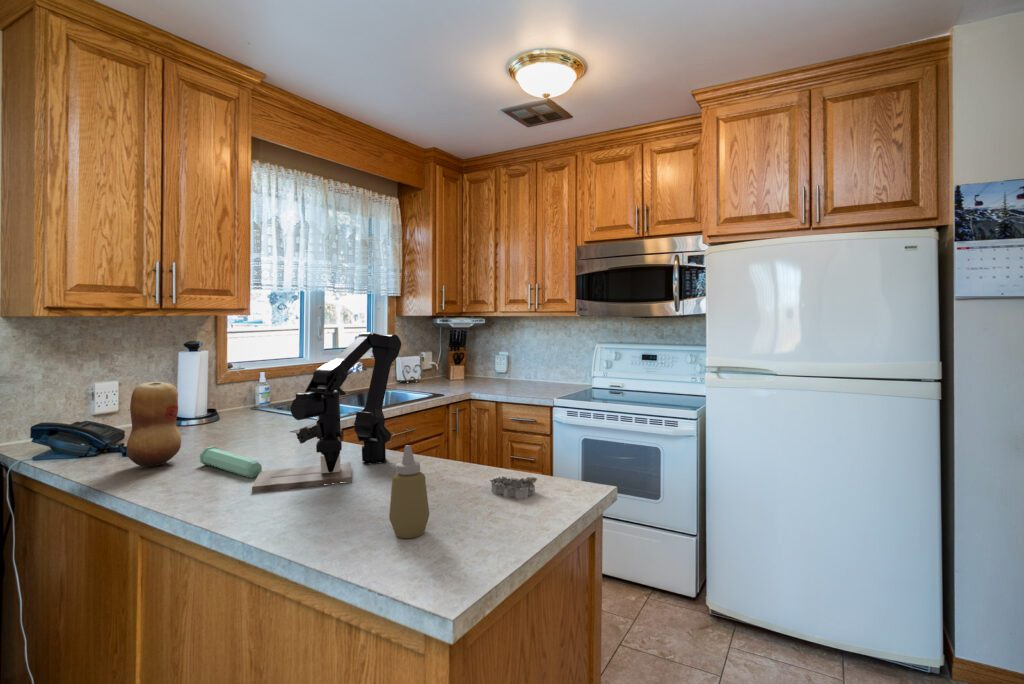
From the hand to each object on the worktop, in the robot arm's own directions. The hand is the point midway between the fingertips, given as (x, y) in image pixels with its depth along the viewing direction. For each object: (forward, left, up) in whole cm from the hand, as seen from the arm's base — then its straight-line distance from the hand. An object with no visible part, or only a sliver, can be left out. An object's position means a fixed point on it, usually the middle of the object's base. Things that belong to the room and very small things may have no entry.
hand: (330, 469), depth 145 cm
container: (+28, -16, -2) cm, 32 cm away
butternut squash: (+51, -30, -2) cm, 59 cm away
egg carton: (-43, +29, -2) cm, 52 cm away
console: (+7, 0, -2) cm, 7 cm away
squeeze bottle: (-16, +45, -2) cm, 48 cm away
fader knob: (0, 0, 0) cm, 0 cm away
